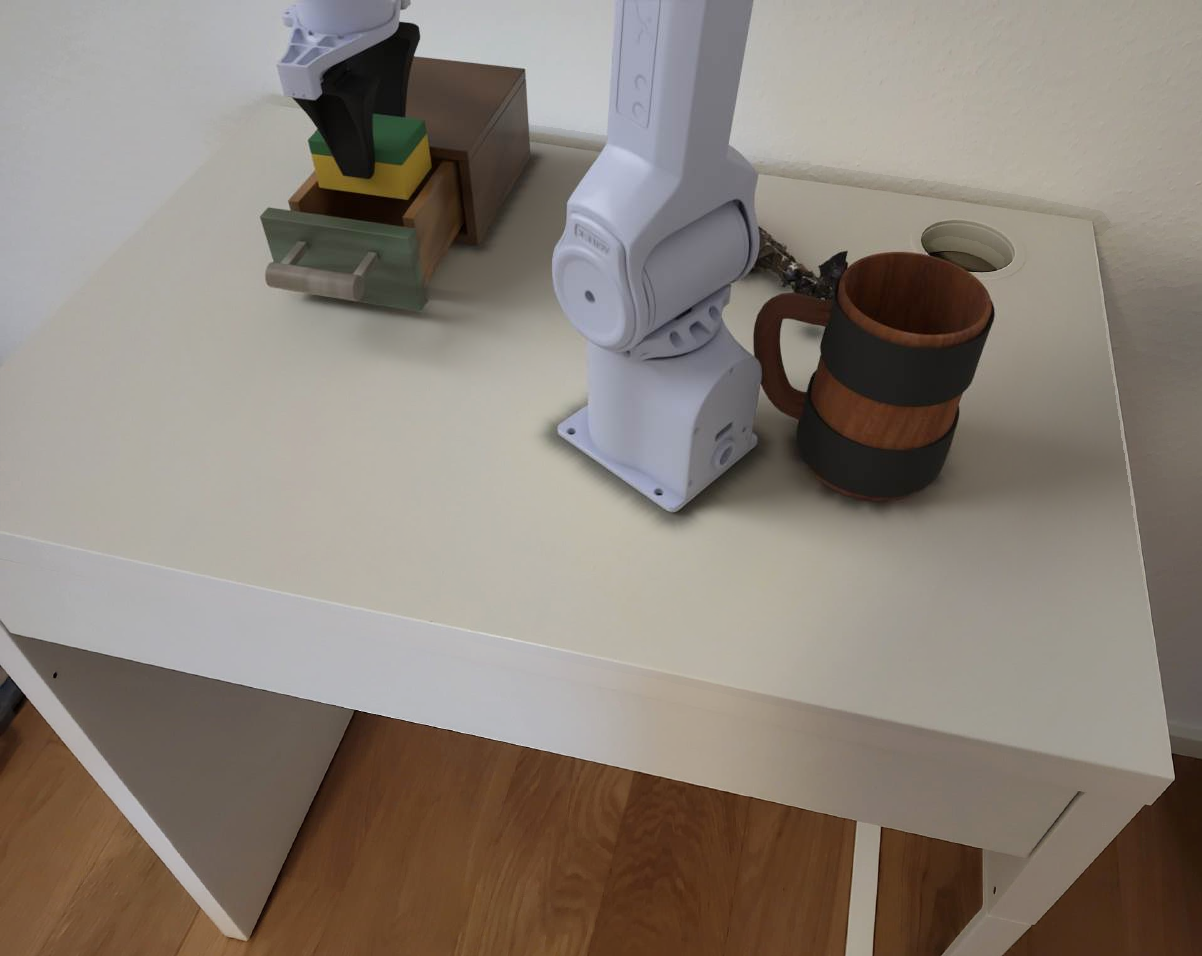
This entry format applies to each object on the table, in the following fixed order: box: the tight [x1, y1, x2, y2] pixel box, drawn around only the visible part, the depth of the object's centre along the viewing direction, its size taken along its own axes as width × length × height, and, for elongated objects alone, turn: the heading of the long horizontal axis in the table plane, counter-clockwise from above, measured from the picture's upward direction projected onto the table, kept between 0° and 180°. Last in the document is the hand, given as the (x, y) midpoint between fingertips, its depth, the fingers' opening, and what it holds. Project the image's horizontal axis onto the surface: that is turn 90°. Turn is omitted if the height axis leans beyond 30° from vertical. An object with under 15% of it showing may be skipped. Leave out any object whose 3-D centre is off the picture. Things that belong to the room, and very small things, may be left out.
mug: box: [752, 251, 996, 502], centre depth 51 cm, size 9×12×12 cm
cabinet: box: [314, 55, 531, 246], centre depth 72 cm, size 14×12×8 cm
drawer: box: [259, 157, 466, 312], centre depth 64 cm, size 17×10×6 cm, turn 166°
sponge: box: [307, 114, 432, 200], centre depth 63 cm, size 4×6×4 cm
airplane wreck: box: [749, 225, 849, 300], centre depth 65 cm, size 6×18×6 cm, turn 36°
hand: (373, 156), depth 63 cm, fingers closed on sponge, 4 cm apart
